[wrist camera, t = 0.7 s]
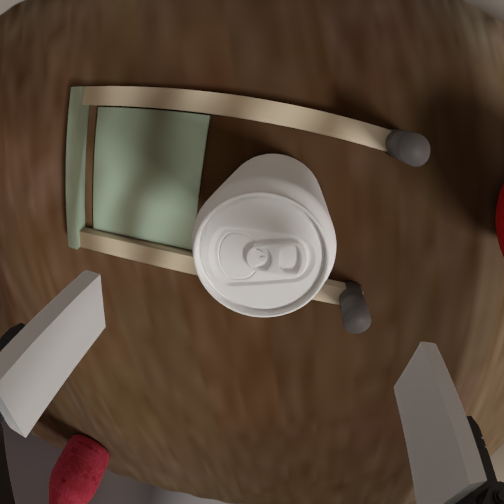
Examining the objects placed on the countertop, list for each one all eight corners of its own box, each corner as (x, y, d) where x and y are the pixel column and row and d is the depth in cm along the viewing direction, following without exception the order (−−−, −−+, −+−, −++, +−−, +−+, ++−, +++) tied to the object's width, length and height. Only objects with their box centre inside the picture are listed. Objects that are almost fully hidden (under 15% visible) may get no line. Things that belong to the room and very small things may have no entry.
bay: (77, 242, 32) (51, 262, 27) (82, 84, 24) (49, 83, 20) (357, 304, 31) (365, 335, 26) (410, 133, 23) (433, 139, 19)
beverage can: (224, 153, 26) (176, 184, 15) (322, 153, 25) (344, 183, 14) (229, 242, 30) (193, 320, 19) (319, 244, 29) (332, 326, 18)
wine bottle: (75, 443, 55) (25, 540, 28) (70, 425, 51) (12, 533, 24) (112, 462, 55) (69, 564, 28) (112, 446, 51) (60, 561, 24)
